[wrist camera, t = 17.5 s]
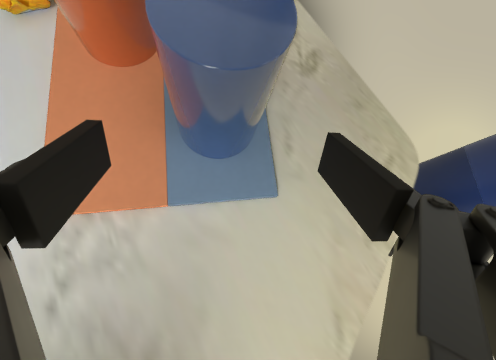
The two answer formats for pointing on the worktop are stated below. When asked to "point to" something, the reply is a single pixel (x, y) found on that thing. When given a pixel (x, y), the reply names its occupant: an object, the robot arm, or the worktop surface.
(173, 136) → the mat
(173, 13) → the navy blue cylinder
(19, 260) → the worktop surface
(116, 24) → the orange cylinder
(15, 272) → the robot arm
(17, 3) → the candy bar
